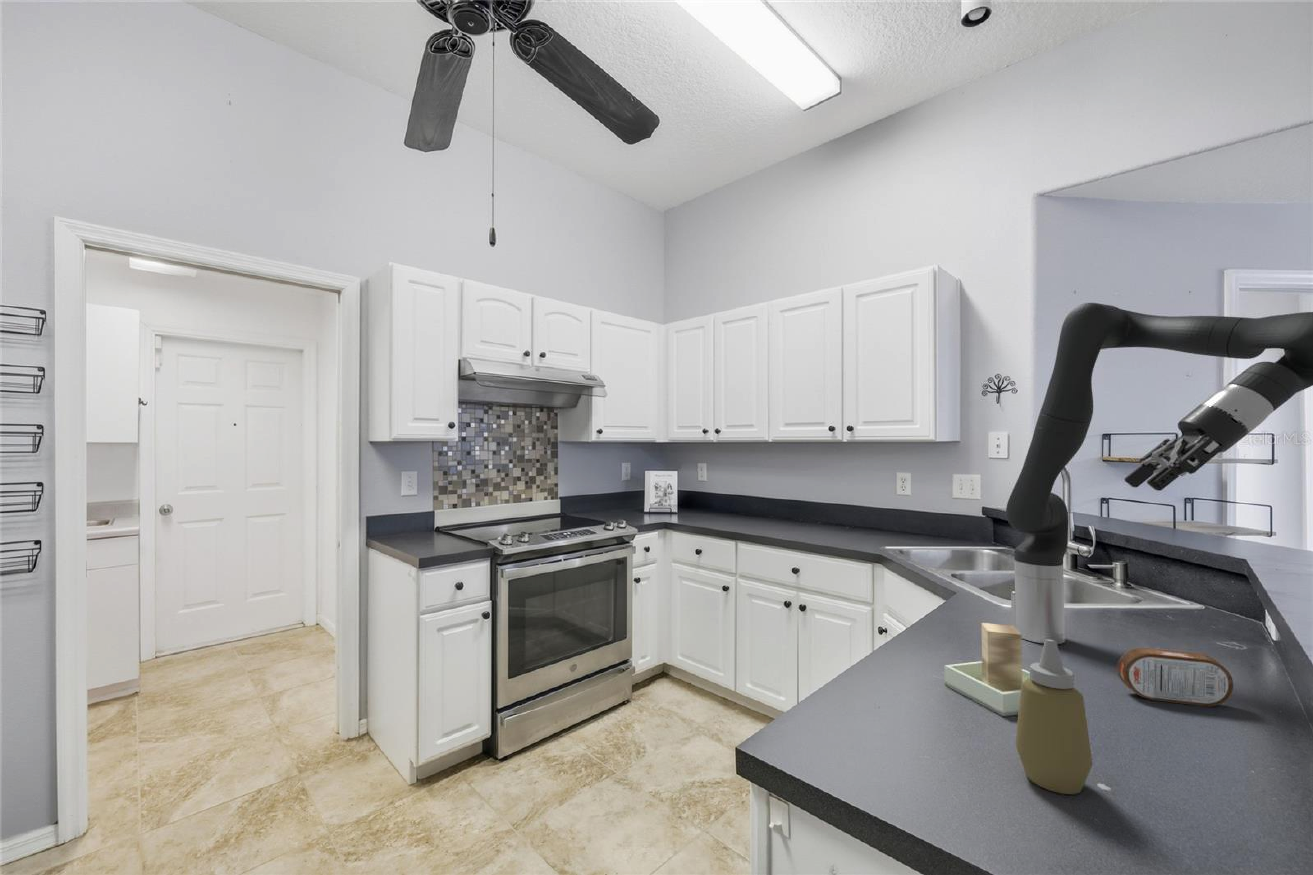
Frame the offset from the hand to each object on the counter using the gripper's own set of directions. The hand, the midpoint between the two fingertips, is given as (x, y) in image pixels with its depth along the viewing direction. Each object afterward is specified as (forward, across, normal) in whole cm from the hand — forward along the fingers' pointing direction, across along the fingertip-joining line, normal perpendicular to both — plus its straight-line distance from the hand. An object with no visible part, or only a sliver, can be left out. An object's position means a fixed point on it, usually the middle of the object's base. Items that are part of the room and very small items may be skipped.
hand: (1140, 485), depth 96 cm
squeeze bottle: (+42, +34, +10) cm, 55 cm away
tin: (+23, -1, +29) cm, 37 cm away
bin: (+42, +7, +10) cm, 44 cm away
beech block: (+42, +7, +9) cm, 43 cm away
